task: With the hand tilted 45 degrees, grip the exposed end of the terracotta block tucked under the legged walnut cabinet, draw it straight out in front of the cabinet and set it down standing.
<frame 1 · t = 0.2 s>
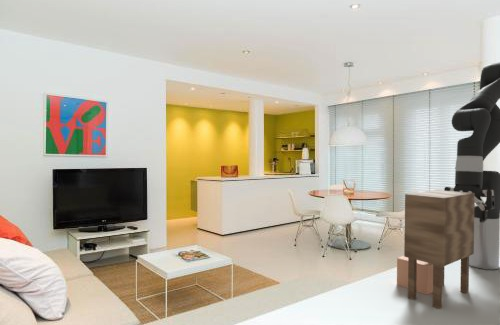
hand: (467, 220, 109), 17 cm above the table, tool pointing down, fingers open, 8 cm apart
terracotta block: (415, 287, 98), on the table
walnut cabinet: (438, 294, 92), on the table
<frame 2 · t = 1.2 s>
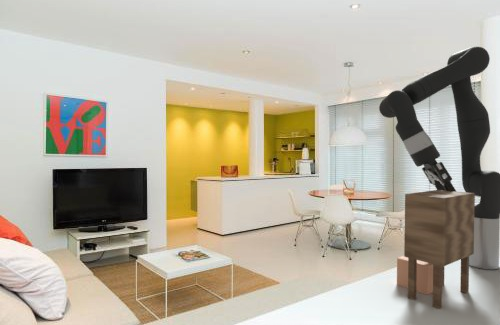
hand: (448, 194, 103), 26 cm above the table, tool tilted 30°, fingers open, 8 cm apart
nothing on the table moved.
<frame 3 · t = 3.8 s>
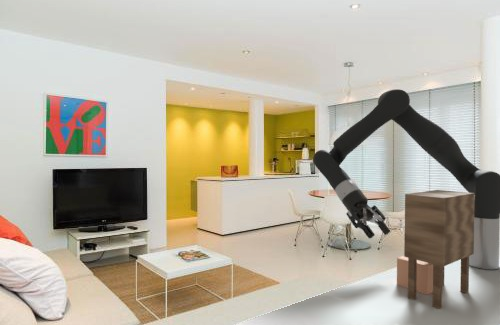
hand: (380, 235, 107), 13 cm above the table, tool tilted 45°, fingers open, 8 cm apart
nothing on the table moved.
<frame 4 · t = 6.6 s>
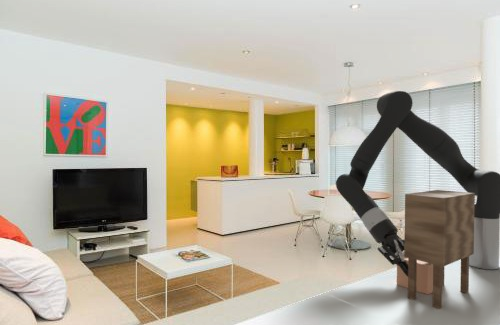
hand: (415, 273, 97), 4 cm above the table, tool tilted 45°, fingers closed on terracotta block, 4 cm apart
terracotta block: (415, 287, 97), on the table, touching gripper
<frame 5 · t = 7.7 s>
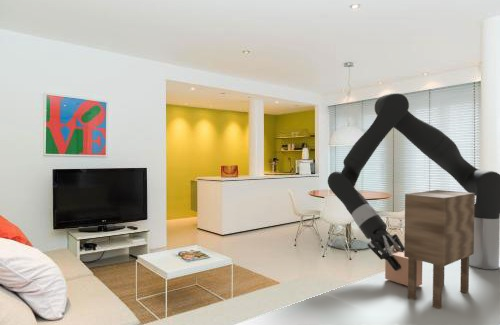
hand: (403, 267, 100), 5 cm above the table, tool tilted 45°, fingers closed on terracotta block, 4 cm apart
terracotta block: (403, 281, 100), point 1 cm above the table, touching gripper
when the fingers open (4 cm above the table, at t = 8.8 s): terracotta block stays where it is, on the table.
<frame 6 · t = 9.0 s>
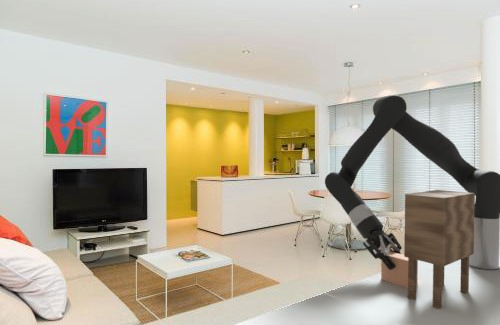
hand: (398, 266, 102), 5 cm above the table, tool tilted 45°, fingers open, 6 cm apart
terracotta block: (398, 282, 102), on the table
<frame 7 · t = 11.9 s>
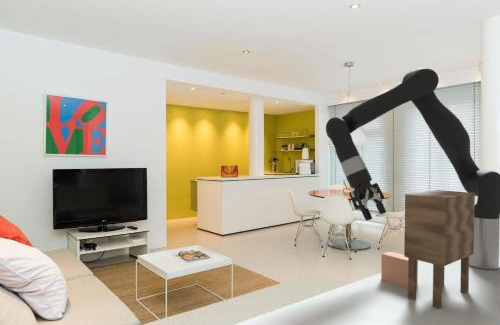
hand: (376, 216, 111), 18 cm above the table, tool tilted 25°, fingers open, 8 cm apart
nothing on the table moved.
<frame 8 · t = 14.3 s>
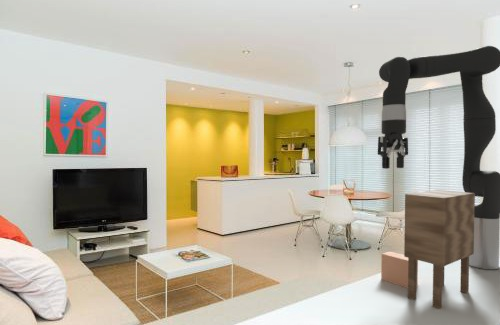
hand: (393, 168, 112), 34 cm above the table, tool pointing down, fingers open, 8 cm apart
nothing on the table moved.
at the end: terracotta block inside the target area (2.9 cm from its centre), on the table; terracotta block tilted 0°; the gripper is holding nothing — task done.
